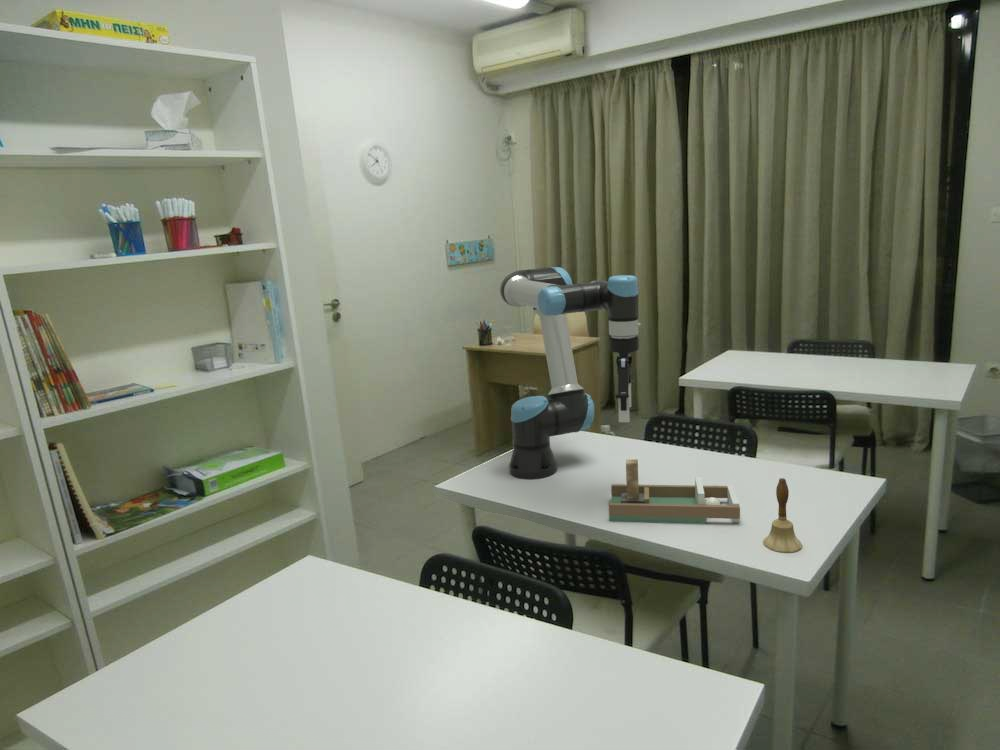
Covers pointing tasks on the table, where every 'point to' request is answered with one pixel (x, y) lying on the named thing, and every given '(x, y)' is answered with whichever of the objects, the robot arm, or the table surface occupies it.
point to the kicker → (634, 485)
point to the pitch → (675, 504)
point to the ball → (712, 501)
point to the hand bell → (782, 525)
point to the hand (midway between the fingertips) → (625, 414)
